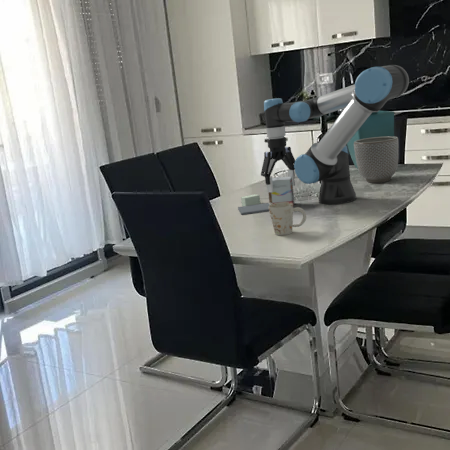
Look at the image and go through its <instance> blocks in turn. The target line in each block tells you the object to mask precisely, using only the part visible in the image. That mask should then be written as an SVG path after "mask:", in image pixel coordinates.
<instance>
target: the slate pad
mask: <svg viewBox="0 0 450 450" xmlns="http://www.w3.org/2000/svg"><path fill="white" fill-rule="evenodd" d="M269 205H270V202H264V203H260V204H256V205H249V206H242V205H241V206H238V207H237V209H238V211H239V214H240V215H242V216H243V215H251V214H258V213H264V212H269Z"/></svg>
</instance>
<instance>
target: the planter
mask: <svg viewBox="0 0 450 450" xmlns="http://www.w3.org/2000/svg"><path fill="white" fill-rule="evenodd" d="M354 150H355V157H356V163H357V168H358V169H357V170H358V173H359V175H360V176H361V177H362V178H364V179H365V181H366V182H367V183H370V184H371V183H372V184H375V183H376V184H378V183H379V184H380V183H385V182H389V181H391V179H392V177H393V176H394V175H395V174H396V172H397V169H398V166H399V137H398V136H395V135H394V136H383V137H372V138H365V139H360V140H356V141H354Z"/></svg>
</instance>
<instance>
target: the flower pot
mask: <svg viewBox="0 0 450 450" xmlns="http://www.w3.org/2000/svg"><path fill="white" fill-rule="evenodd" d="M383 136H395V111H390V110H379V111H378V112H372V113H371V115H370V116H369V117H368V118H367V120H366V121H365V122H364V123H363V124H362V126H361V127H360V128H359V129H358V131H357V132H356V133H355V134H354V136H353V137H352V138H351V139H350V141H349V142H348V143H347V144H346V146H347V149H348V153H349V156H350V157H351V160H352V162H353V164H354V165H353V166H354V167H355V169H356V168H357V163H356V157H355V150H354V141H356V140H360V139H365V138H372V137H383ZM356 170H358V168H357V169H356Z"/></svg>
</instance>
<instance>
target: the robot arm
mask: <svg viewBox="0 0 450 450" xmlns="http://www.w3.org/2000/svg"><path fill="white" fill-rule="evenodd" d="M409 83H410V78H409V74H408V73H407V71H406V70H405V69H404V67H402V66H400V65H396V64H388V65H383V66H373V67H370V68H367V69H364V70H363V71H362V72H360V74H359V75H358V76H357V77H356V79H355V82H354V84H352V85H349V86H347V87H343V88H340V89H337V90H334V91H331V92H328V93H325V94H323V95H320V96H316V97H314V98H310V99H305V100H298V101H294V102H283V98H279V97H278V98H277V97H275V98H270V99H266V100H264V101H263V112H264V118H265V127H266V138H267V141H266V142H267V148H268V149H269V151H265V152H264V153H263V154H264V155H263V156H264V158H263V162H262V166H261V171H260V176H261V177H264V180H265V186H266V193H268V192H271V193H272V192H273V182H272V178H273V176H271V175H272V173H273V171H274V167H275V165H276V163H277V162H278V161H282V162H283V164H285V166H286V167H287V168H288V170H287V177H290V176H292V182H293V187H294V186H296V181H295V177H297V178H298V179H299V181H300V182H302V183H303V184H307V185H311V184H316V183H318V182H320V181H321V185H320V189H319V192H318V193H319V194H318V203H320V204H324V205H340V204H345V203H351V202H354V201H356V200H357V193H356V191H355V188H354V186H353V184H352V181H351V172H350V171H351V170H350V163H349V161H350V159H349V156H350V153H349V149H348V146H347V143H348V142H349V141H350V139H351V138H352V137H353V136H354V134H355V133H356V132H357V131H358V129H359V128H360V127H361V126H362V124H363V123H364V122H365V121H366V120H367V118H368V117H369V116H370V115H371V113H372V112H378V111H381V109H382V108H383V107H384V106H385V104H386V103H387V102H388V101H389V100H392V99H395V98H399V97H401V96H402V95H403V94H404V93H405V92H406V91H407V90H408V87H409ZM339 110H341V111H342V110H343V111H342V112H341V113H340V114H339V116H338V117H337V118H336V119H335V121H334V122H333V123H332V125H331V126H330V127H329V129H328V130H327V131H326V132H325V133H324V135H323V137H322V138H321V139H320V141H318V142H313V143H312V144H311V145H310V147H309V148H308V149H307V151H306V152H305V153H302V154H300V155H298V156H297V157H296V159H295V157H294V154H293V152H292V148H291V146H287V139H286V137H285V136H286V126H285V123H303V122H306V121H308V120H309V119H313V118H315V119H316V118H319V117H322V116H324V115H327V114H330V113H334V112H337V111H339ZM295 175H296V176H295Z"/></svg>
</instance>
